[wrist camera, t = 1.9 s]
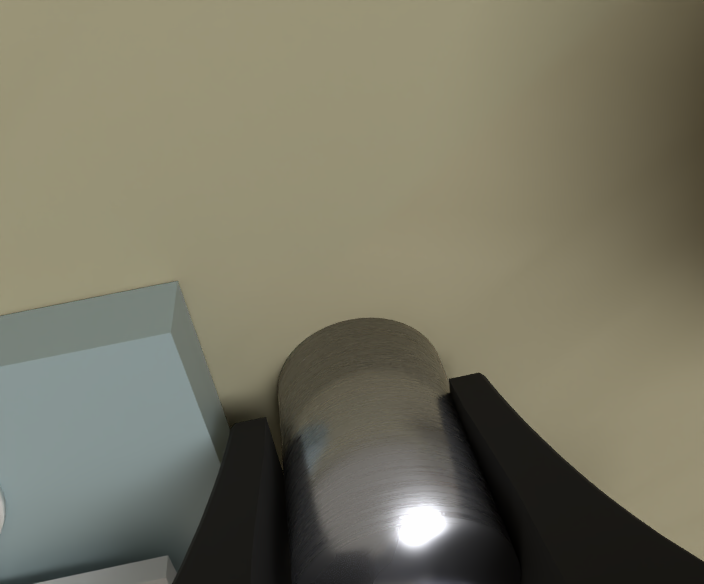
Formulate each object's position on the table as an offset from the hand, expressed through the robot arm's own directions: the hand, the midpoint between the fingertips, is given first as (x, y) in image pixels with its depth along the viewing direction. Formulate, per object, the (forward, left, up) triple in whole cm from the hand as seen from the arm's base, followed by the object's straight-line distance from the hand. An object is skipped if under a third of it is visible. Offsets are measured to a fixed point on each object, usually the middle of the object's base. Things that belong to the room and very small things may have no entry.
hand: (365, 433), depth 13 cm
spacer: (0, 0, -2) cm, 2 cm away
